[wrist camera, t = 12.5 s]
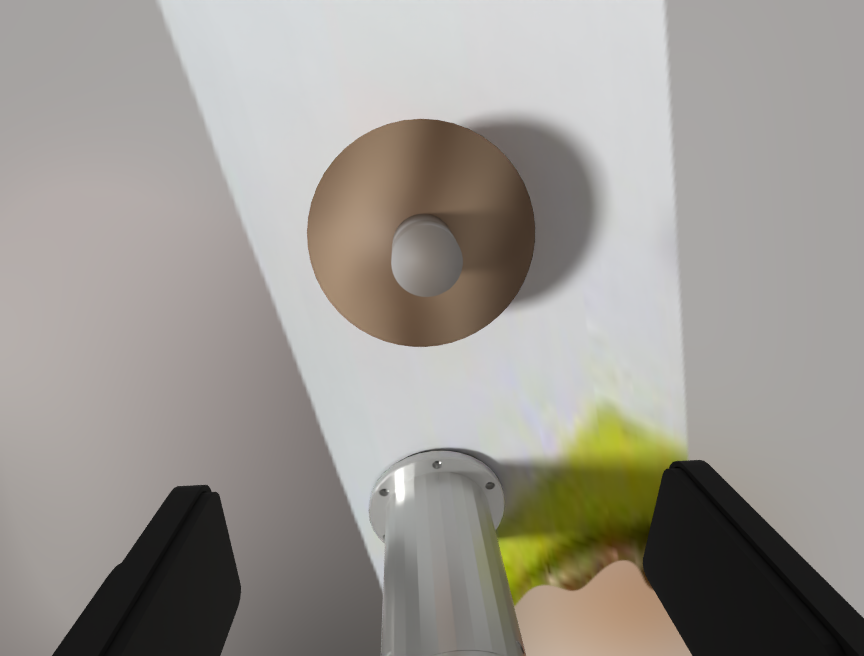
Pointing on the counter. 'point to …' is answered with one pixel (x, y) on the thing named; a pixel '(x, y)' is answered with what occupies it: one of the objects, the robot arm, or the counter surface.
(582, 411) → the counter surface
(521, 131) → the counter surface
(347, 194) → the lid
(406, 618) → the robot arm
